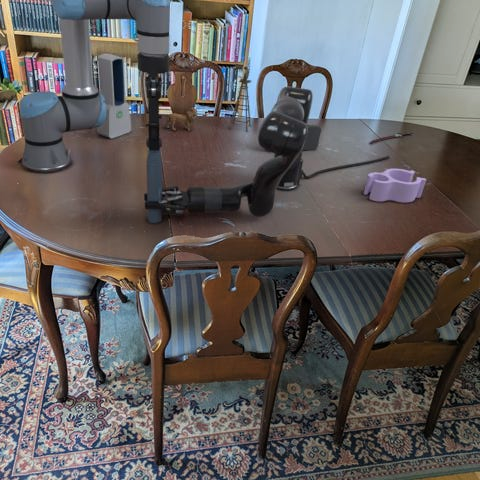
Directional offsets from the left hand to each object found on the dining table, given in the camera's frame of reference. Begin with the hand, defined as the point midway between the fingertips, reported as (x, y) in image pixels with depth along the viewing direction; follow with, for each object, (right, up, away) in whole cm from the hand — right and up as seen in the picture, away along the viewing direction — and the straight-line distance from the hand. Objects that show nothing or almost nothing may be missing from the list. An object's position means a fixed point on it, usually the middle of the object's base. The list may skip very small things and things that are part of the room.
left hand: (154, 146), depth 123 cm
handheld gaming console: (+44, +12, +68) cm, 82 cm away
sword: (+92, +21, +91) cm, 131 cm away
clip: (+76, -9, +41) cm, 86 cm away
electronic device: (-28, +18, +65) cm, 73 cm away
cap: (0, +1, -1) cm, 1 cm away
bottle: (-2, -19, +12) cm, 23 cm away
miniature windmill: (+23, +26, +85) cm, 92 cm away
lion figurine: (-3, +23, +76) cm, 80 cm away
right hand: (-4, -14, +8) cm, 17 cm away
